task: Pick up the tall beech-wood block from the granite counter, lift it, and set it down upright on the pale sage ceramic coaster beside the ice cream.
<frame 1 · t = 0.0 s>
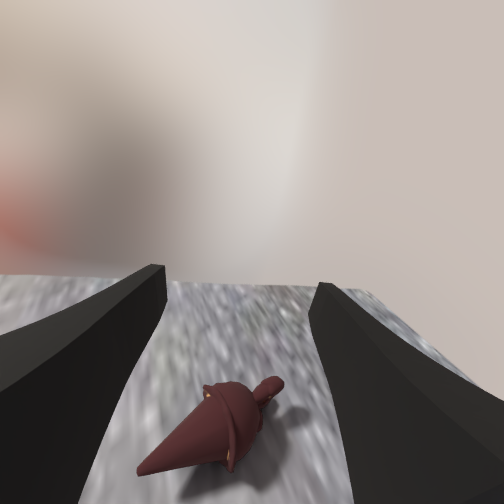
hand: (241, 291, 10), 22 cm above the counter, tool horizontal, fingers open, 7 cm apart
icecream: (220, 440, 22), on the counter
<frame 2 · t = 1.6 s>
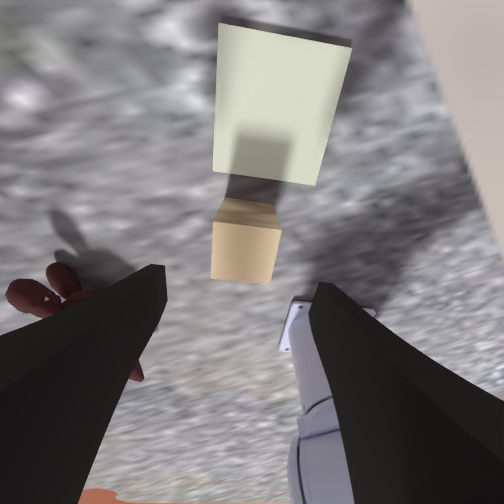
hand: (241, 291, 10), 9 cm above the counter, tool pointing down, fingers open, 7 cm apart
block: (245, 222, 18), on the counter
icecream: (116, 306, 23), on the counter
coaster: (273, 117, 14), on the counter
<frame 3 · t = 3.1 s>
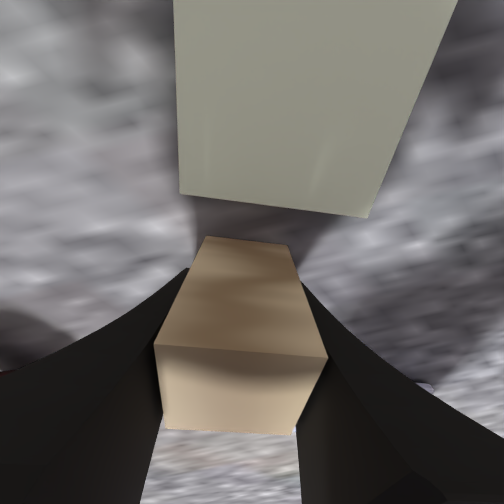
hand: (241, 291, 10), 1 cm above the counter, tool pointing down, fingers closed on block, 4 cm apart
block: (242, 274, 11), on the counter, touching gripper
coaster: (295, 91, 7), on the counter
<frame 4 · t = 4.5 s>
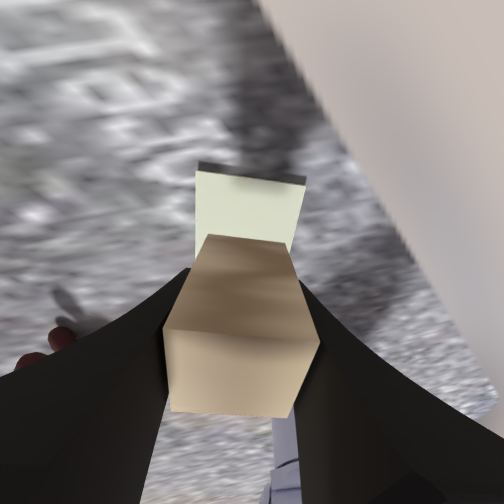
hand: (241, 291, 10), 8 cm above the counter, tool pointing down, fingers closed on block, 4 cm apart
block: (242, 270, 11), point 6 cm above the counter, touching gripper
icecream: (110, 358, 25), on the counter
coaster: (245, 227, 17), on the counter
when the fingers open (3 cm above the counter, at t = 5.8 s): block stays where it is, resting on coaster.
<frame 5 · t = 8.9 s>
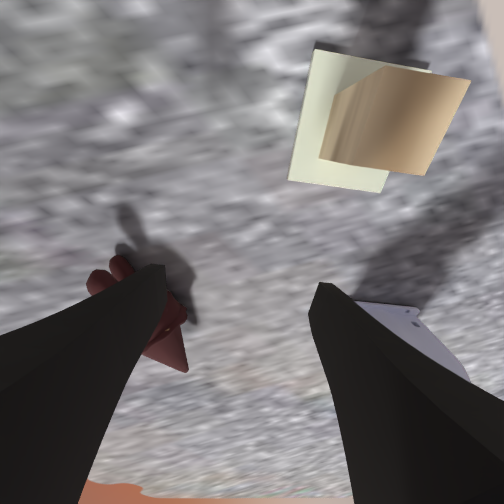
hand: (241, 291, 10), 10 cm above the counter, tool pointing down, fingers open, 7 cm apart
block: (351, 132, 15), point 1 cm above the counter, touching coaster
icecream: (163, 299, 24), on the counter
coaster: (348, 131, 16), on the counter
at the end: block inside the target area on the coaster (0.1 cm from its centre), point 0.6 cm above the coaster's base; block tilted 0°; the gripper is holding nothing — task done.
